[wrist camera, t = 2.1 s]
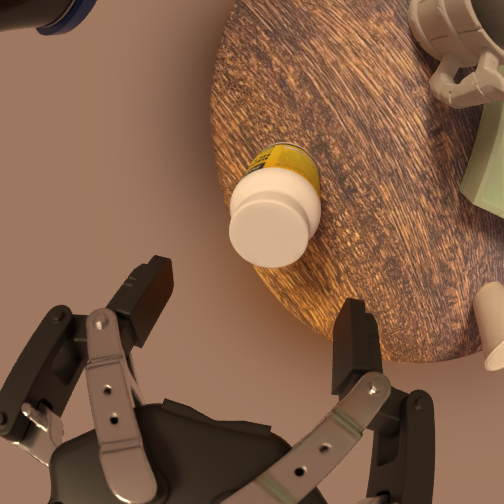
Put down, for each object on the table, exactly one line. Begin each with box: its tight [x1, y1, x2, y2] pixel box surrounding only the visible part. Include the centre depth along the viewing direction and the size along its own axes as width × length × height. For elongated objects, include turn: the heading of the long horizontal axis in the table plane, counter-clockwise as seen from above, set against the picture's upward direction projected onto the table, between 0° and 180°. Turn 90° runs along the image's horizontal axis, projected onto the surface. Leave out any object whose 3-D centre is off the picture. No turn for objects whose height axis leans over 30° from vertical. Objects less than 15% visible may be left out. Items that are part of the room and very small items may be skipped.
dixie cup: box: [472, 282, 504, 371], centre depth 23 cm, size 8×8×10 cm
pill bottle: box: [229, 142, 321, 268], centre depth 20 cm, size 6×6×11 cm
